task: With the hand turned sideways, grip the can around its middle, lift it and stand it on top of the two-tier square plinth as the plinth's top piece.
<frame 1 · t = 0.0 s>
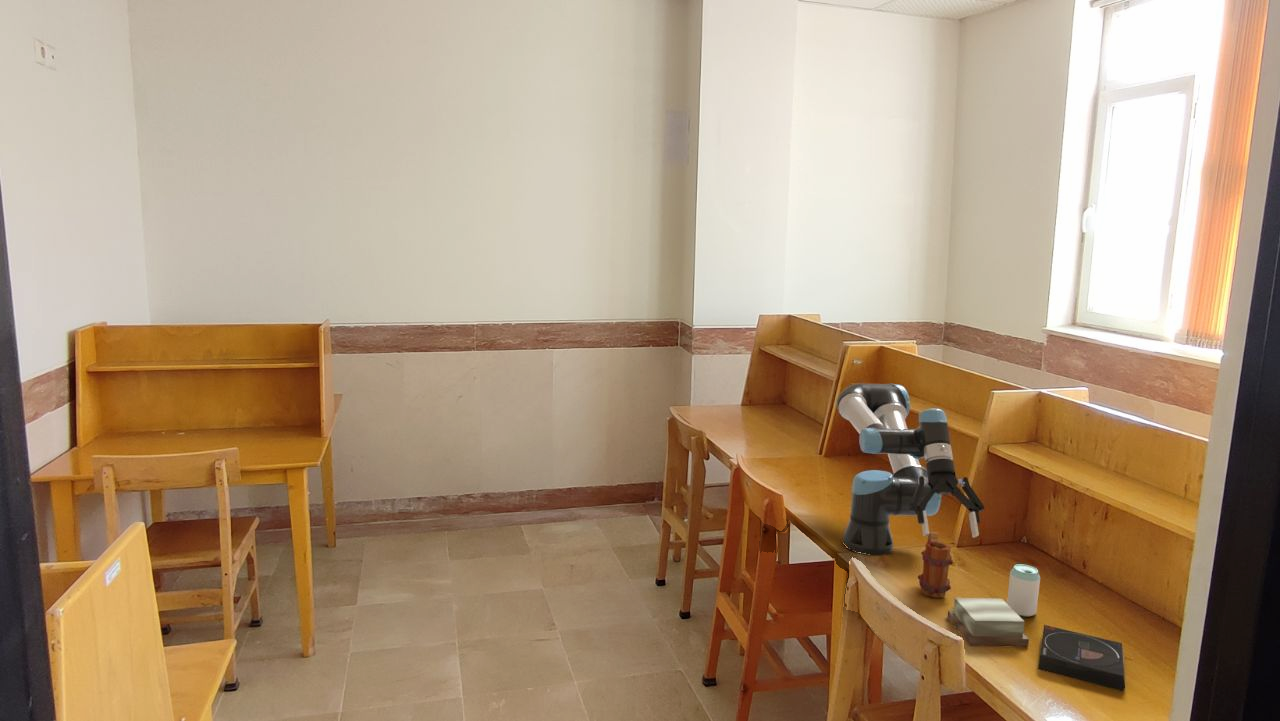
hand: (951, 535, 224), 15 cm above the table, tool tilted 35°, fingers open, 13 cm apart
two-tier square plinth: (986, 631, 203), on the table
can: (1020, 612, 214), on the table
portable cd player: (1080, 666, 190), on the table
mug: (931, 590, 225), on the table
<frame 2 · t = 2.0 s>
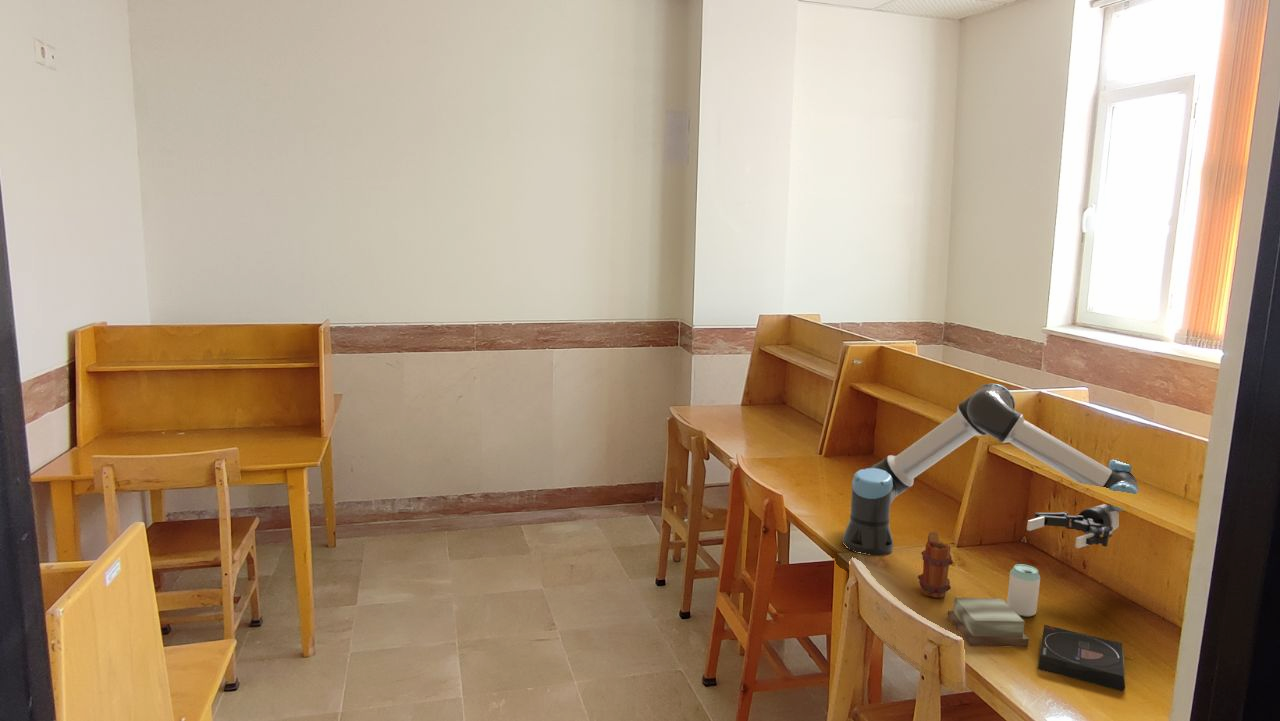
hand: (1052, 534, 216), 20 cm above the table, tool horizontal, fingers open, 13 cm apart
nothing on the table moved.
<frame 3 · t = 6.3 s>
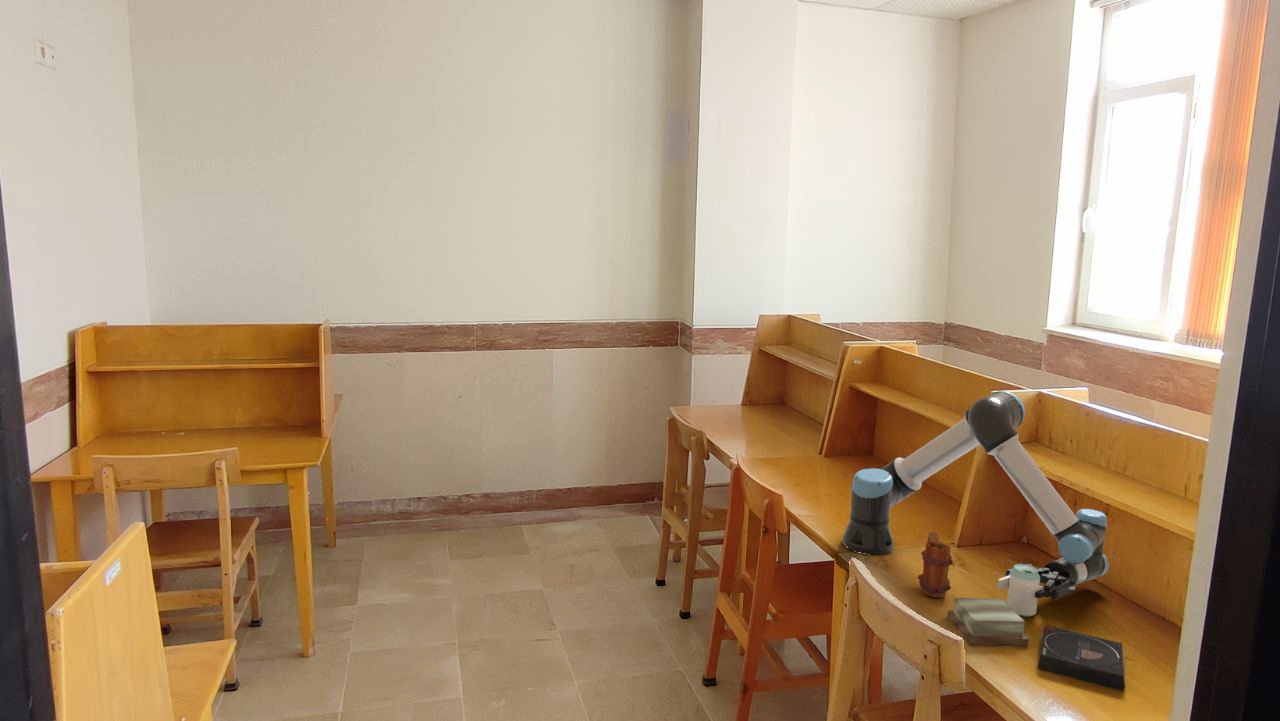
hand: (1012, 590, 210), 7 cm above the table, tool horizontal, fingers closed on can, 7 cm apart
can: (1020, 612, 214), on the table, touching gripper
everything else where it was.
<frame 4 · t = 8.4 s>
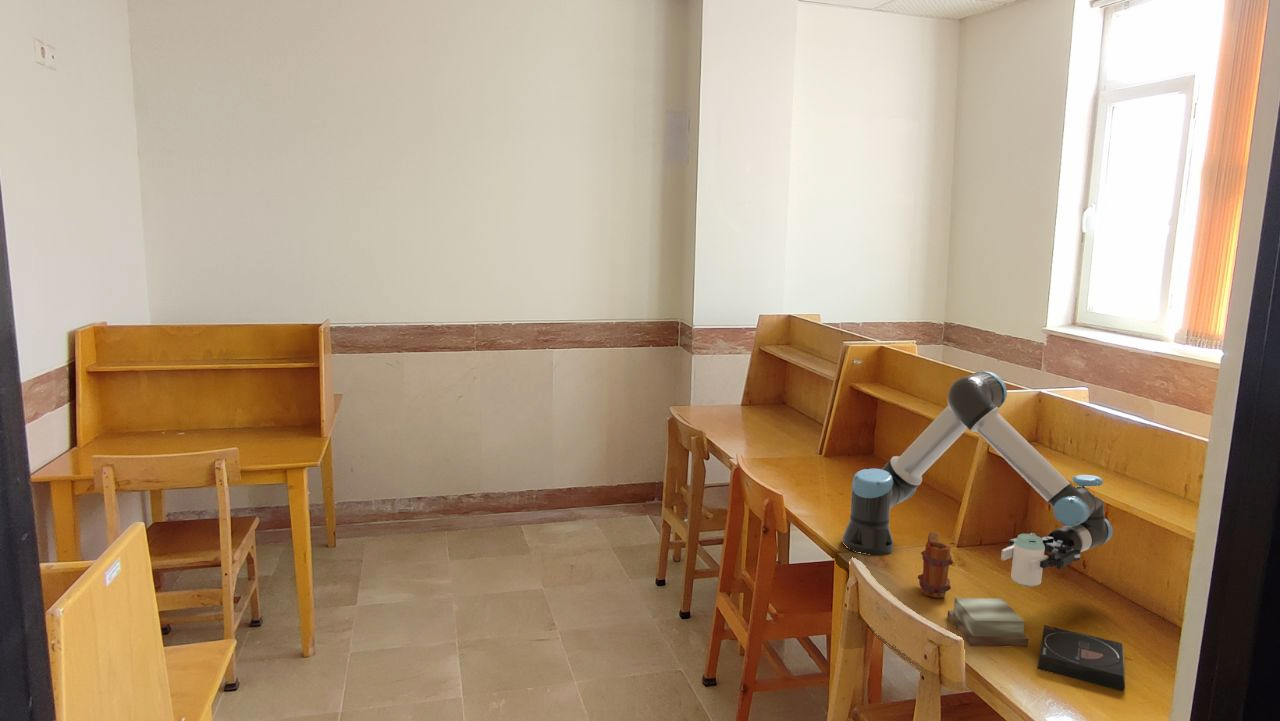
hand: (1016, 560, 206), 16 cm above the table, tool horizontal, fingers closed on can, 7 cm apart
can: (1025, 582, 210), point 9 cm above the table, touching gripper
everything else where it was.
when the fingers open (14 cm above the table, at t = 10.4 s): can drops 1 cm, resting on two-tier square plinth.
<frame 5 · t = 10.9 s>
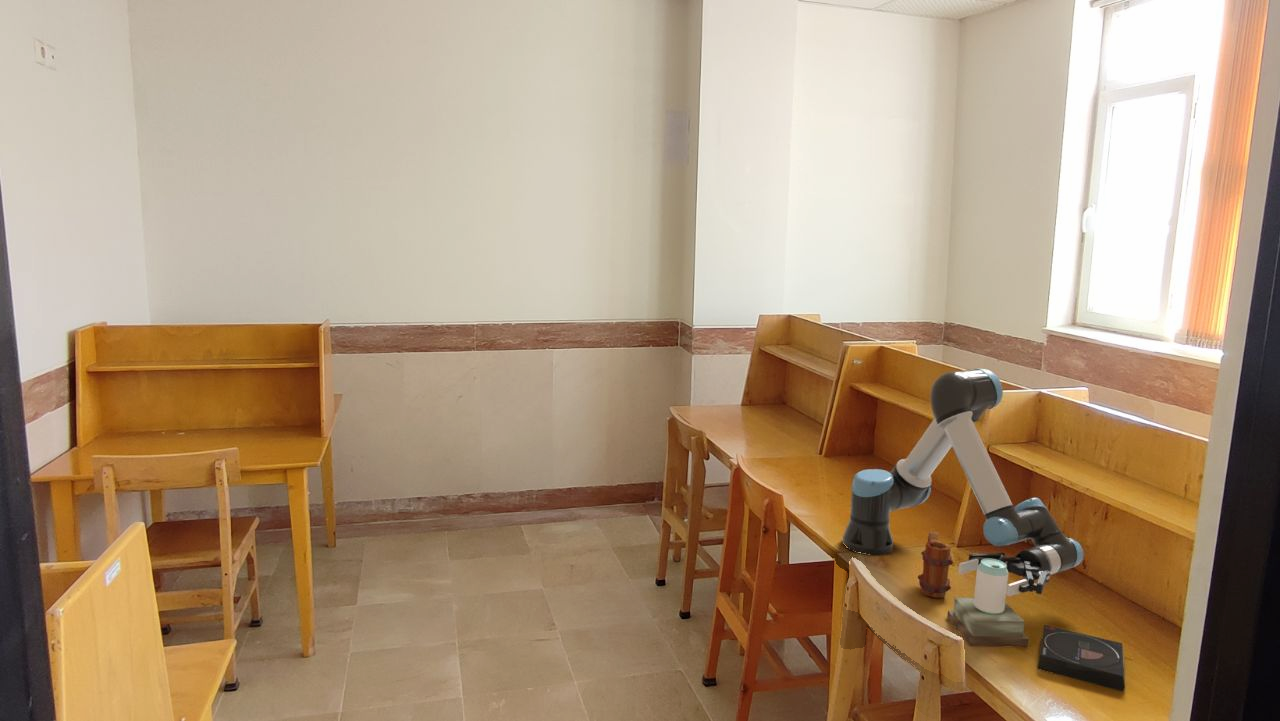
hand: (983, 579, 199), 14 cm above the table, tool horizontal, fingers open, 13 cm apart
can: (988, 609, 202), point 6 cm above the table, touching two-tier square plinth
everything else where it was.
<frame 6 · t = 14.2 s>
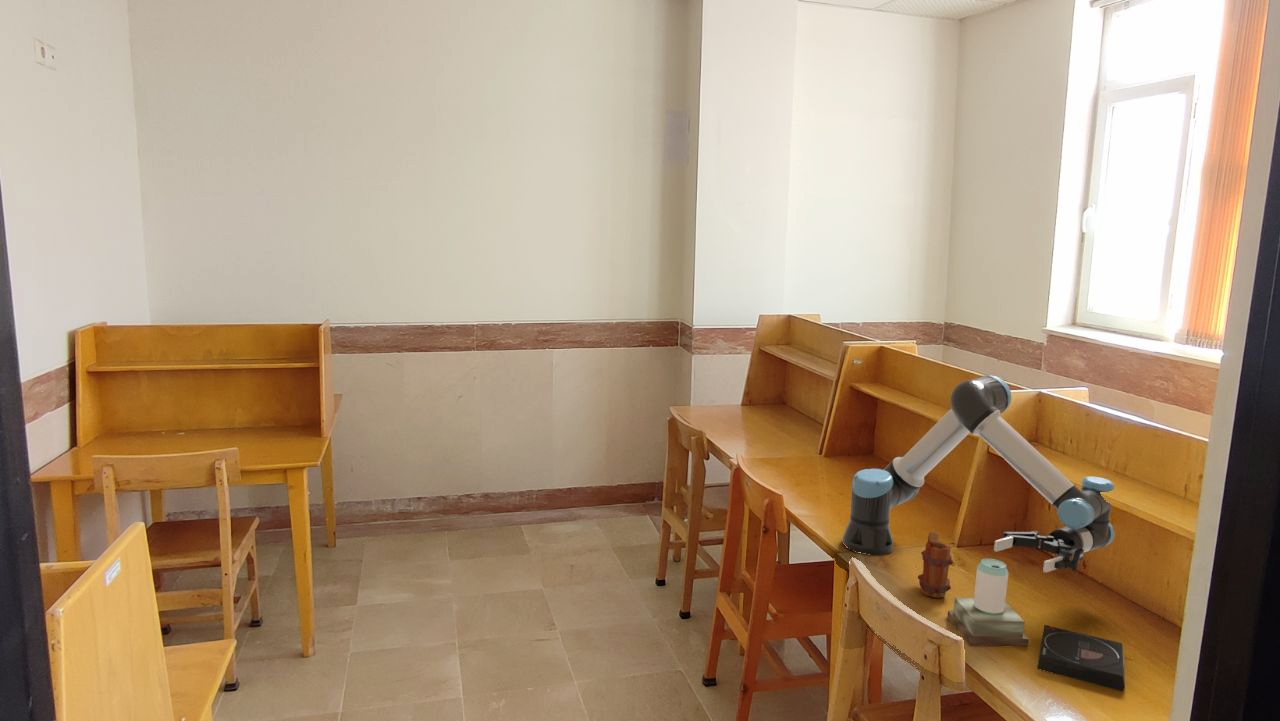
hand: (1019, 556, 205), 18 cm above the table, tool horizontal, fingers open, 13 cm apart
nothing on the table moved.
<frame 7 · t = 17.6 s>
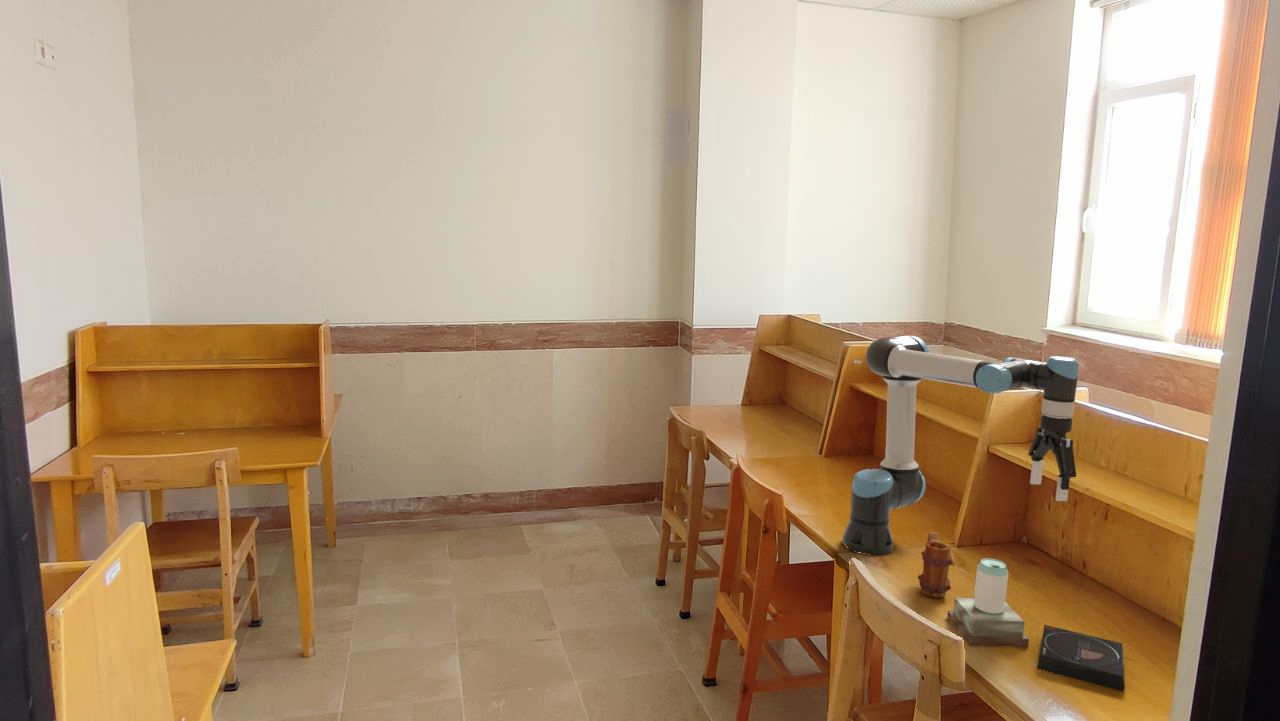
hand: (1047, 492, 221), 29 cm above the table, tool pointing down, fingers open, 13 cm apart
nothing on the table moved.
at the end: can inside the target area on the two-tier square plinth (0.1 cm from its centre), point 5.8 cm above the two-tier square plinth's base; can tilted 0°; the gripper is holding nothing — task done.
